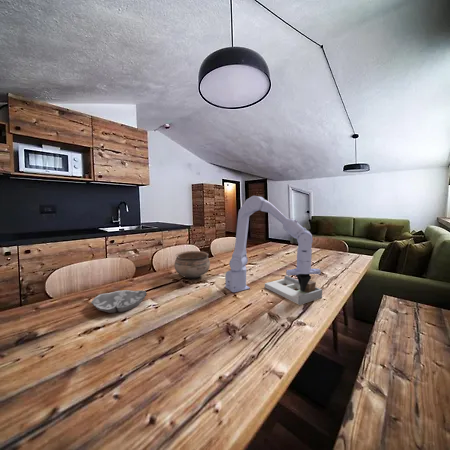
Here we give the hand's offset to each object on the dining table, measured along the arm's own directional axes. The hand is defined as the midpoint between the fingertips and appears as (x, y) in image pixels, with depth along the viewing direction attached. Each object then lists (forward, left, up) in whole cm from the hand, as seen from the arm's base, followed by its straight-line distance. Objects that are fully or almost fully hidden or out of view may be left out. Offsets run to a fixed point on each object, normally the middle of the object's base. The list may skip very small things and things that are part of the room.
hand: (302, 291), depth 93 cm
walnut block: (+4, 0, -1) cm, 4 cm away
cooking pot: (-31, +47, -3) cm, 57 cm away
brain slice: (-68, +31, -3) cm, 75 cm away
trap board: (0, +6, -3) cm, 7 cm away
